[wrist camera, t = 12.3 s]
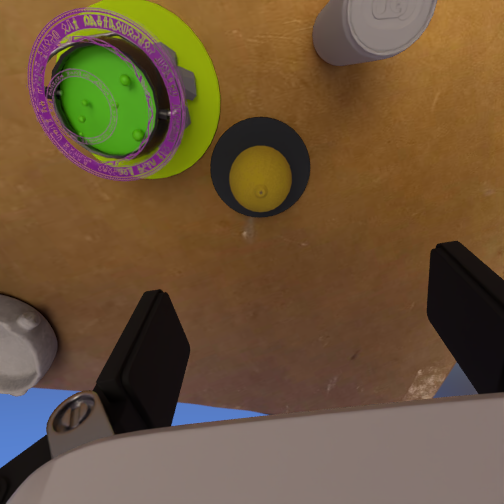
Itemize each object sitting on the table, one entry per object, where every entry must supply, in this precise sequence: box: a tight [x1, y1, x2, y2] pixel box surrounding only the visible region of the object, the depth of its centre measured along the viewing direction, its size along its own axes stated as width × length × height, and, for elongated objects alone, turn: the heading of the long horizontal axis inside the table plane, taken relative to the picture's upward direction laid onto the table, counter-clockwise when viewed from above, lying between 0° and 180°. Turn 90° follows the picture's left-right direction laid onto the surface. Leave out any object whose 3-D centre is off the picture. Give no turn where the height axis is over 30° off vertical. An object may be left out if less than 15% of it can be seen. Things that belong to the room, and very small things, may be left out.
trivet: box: [211, 117, 310, 217], centre depth 32 cm, size 10×10×1 cm
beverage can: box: [312, 0, 437, 66], centre depth 22 cm, size 5×5×12 cm
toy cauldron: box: [26, 0, 220, 181], centre depth 25 cm, size 15×15×11 cm
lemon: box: [229, 146, 292, 212], centre depth 28 cm, size 6×6×8 cm
